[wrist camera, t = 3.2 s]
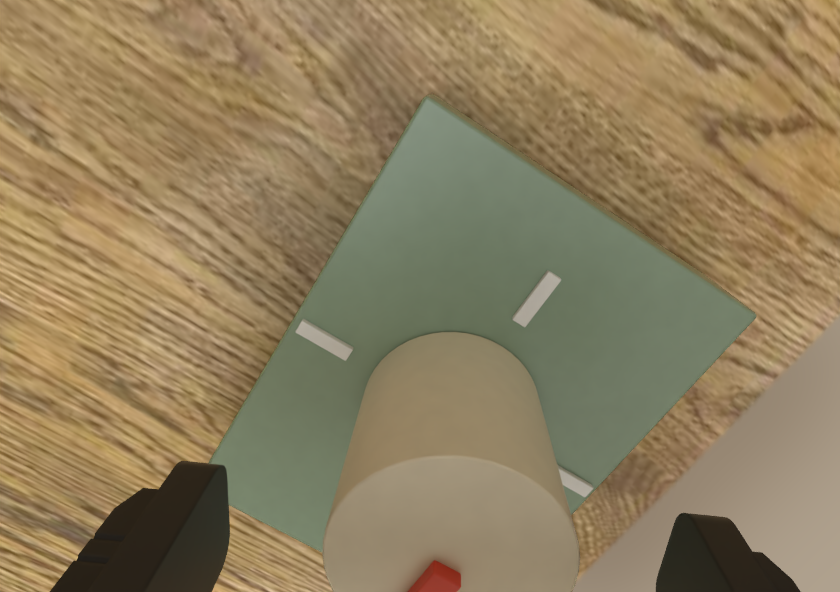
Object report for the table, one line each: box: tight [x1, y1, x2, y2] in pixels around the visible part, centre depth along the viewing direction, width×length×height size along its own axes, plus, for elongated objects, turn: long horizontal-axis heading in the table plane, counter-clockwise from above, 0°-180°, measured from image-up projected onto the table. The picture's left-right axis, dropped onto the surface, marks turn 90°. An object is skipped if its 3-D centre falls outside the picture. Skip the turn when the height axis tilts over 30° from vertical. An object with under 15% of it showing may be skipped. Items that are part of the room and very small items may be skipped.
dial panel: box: [208, 94, 756, 552], centre depth 15 cm, size 12×9×3 cm
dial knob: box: [322, 332, 580, 592], centre depth 12 cm, size 4×4×5 cm
